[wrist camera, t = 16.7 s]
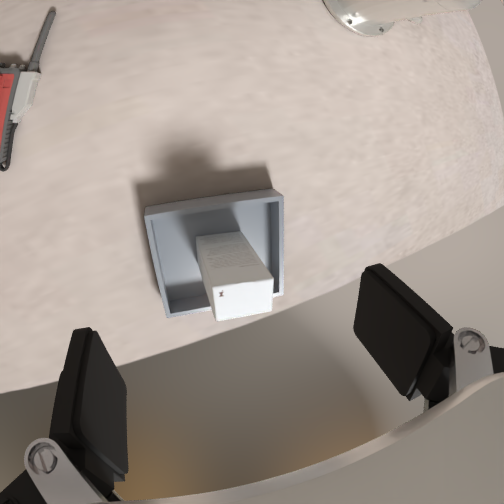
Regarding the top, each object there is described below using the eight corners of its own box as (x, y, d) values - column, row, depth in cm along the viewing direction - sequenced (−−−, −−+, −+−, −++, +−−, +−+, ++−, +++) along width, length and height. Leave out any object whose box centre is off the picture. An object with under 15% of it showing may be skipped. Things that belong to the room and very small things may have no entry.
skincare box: (197, 265, 39) (213, 323, 29) (194, 235, 37) (210, 286, 27) (242, 259, 41) (273, 312, 30) (242, 229, 39) (274, 276, 28)
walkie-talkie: (24, 170, 28) (64, 14, 21) (9, 178, 24) (53, 3, 17) (-26, 165, 24) (9, 16, 17) (-43, 172, 21) (-6, 8, 14)
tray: (273, 188, 38) (283, 195, 35) (274, 282, 44) (283, 294, 41) (145, 206, 34) (144, 216, 31) (165, 302, 41) (166, 318, 38)
